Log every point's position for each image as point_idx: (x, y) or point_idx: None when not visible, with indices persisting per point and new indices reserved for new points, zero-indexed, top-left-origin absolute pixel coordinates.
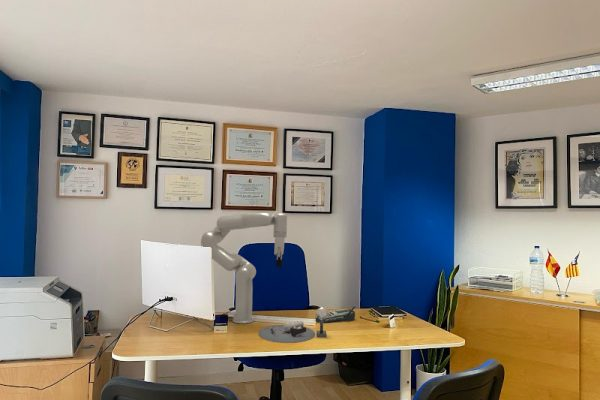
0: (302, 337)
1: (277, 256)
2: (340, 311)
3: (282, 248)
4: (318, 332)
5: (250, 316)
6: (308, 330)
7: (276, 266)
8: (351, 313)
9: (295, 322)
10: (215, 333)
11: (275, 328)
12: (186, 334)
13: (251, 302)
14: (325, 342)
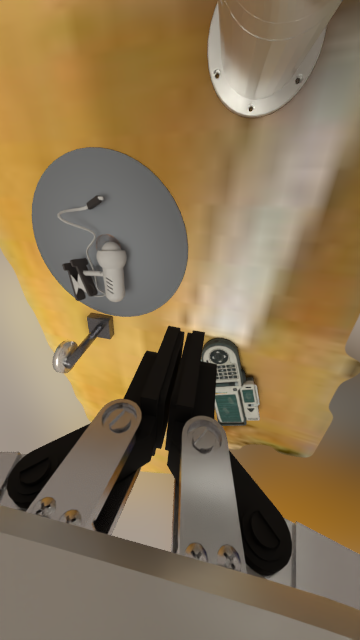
0: None
1: (20, 470)
2: (229, 404)
3: None
4: (94, 322)
5: (237, 87)
6: (135, 305)
7: (168, 326)
8: (217, 416)
9: (107, 281)
10: None
11: (145, 214)
12: None
13: (247, 63)
14: (65, 322)
